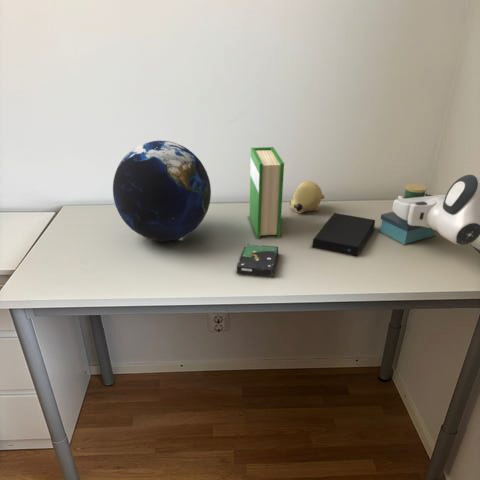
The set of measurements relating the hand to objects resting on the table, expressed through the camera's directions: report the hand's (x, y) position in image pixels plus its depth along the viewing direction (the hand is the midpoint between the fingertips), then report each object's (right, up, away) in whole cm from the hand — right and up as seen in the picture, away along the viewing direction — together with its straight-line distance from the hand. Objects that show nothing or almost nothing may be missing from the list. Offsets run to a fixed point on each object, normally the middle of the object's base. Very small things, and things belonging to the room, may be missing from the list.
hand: (413, 196), depth 163 cm
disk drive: (-50, -23, -12) cm, 56 cm away
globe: (-79, -12, +4) cm, 80 cm away
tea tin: (0, -6, +3) cm, 7 cm away
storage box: (0, -11, +7) cm, 13 cm away
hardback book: (-47, -8, +11) cm, 49 cm away
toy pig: (-31, 0, +23) cm, 39 cm away
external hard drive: (-21, -13, +4) cm, 25 cm away
